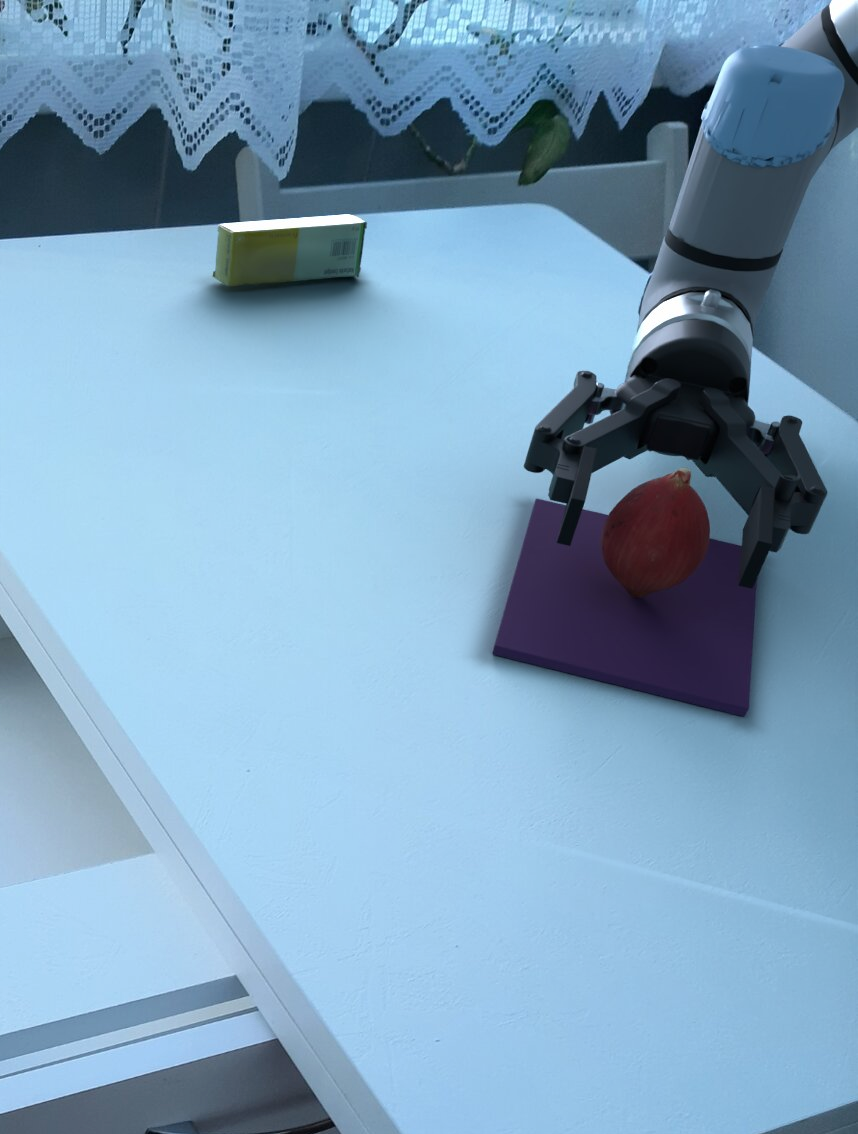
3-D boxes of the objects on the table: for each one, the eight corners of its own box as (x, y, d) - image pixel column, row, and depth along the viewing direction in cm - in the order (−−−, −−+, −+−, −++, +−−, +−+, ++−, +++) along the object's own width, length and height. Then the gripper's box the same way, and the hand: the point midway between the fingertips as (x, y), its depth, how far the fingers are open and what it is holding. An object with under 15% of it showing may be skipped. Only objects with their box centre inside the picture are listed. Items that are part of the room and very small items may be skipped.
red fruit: (569, 596, 89) (613, 468, 83) (606, 557, 92) (650, 431, 86) (663, 634, 87) (715, 505, 81) (697, 592, 90) (749, 466, 84)
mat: (755, 557, 95) (759, 549, 94) (744, 717, 83) (749, 708, 82) (533, 506, 97) (535, 497, 97) (491, 654, 85) (494, 645, 85)
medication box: (343, 267, 121) (352, 212, 119) (361, 277, 120) (370, 221, 117) (211, 277, 117) (216, 221, 115) (227, 288, 115) (233, 230, 113)
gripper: (534, 281, 96) (480, 433, 81) (890, 354, 93) (902, 527, 78) (502, 395, 102) (446, 557, 87) (837, 469, 98) (839, 651, 83)
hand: (661, 543), depth 82 cm, fingers open, 9 cm apart
